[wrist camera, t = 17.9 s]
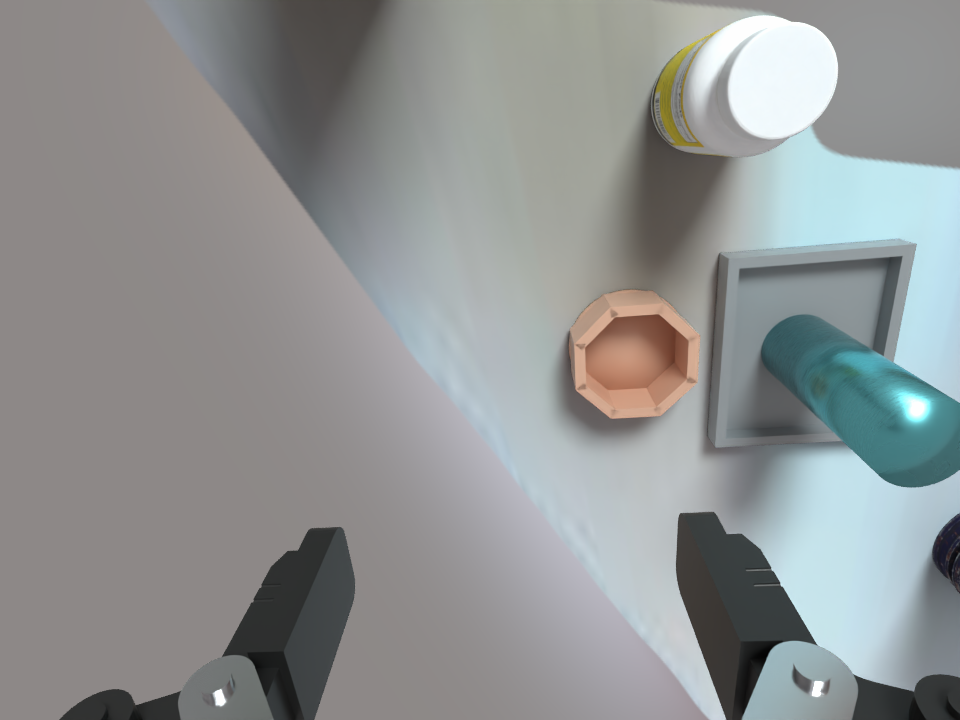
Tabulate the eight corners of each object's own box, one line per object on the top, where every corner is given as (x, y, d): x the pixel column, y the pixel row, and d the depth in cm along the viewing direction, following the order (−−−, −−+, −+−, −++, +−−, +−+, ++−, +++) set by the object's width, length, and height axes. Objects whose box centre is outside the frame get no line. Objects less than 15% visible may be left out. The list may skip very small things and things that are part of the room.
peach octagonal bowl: (566, 293, 45) (571, 308, 41) (687, 284, 44) (703, 299, 41) (570, 399, 48) (575, 421, 45) (682, 392, 48) (696, 414, 44)
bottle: (764, 316, 44) (879, 402, 30) (839, 311, 44) (990, 396, 30) (758, 381, 46) (863, 489, 32) (829, 377, 46) (966, 485, 32)
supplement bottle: (774, 69, 38) (893, 43, 26) (714, 169, 41) (798, 186, 29) (684, 20, 38) (764, -30, 26) (629, 125, 40) (679, 124, 28)
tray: (719, 253, 43) (729, 258, 41) (898, 238, 42) (916, 243, 40) (707, 435, 49) (715, 447, 47) (864, 427, 48) (878, 439, 46)
